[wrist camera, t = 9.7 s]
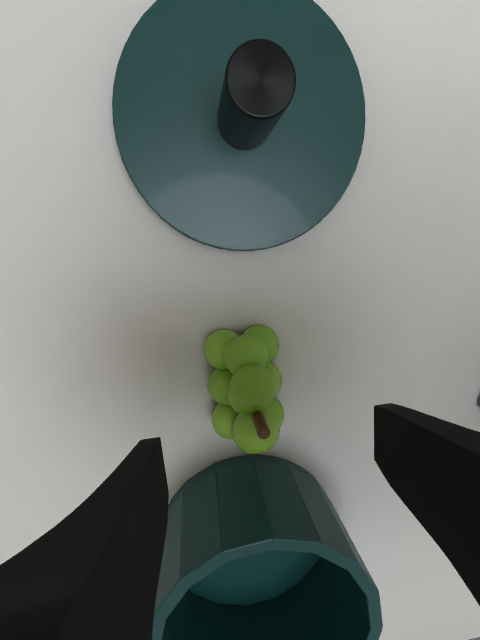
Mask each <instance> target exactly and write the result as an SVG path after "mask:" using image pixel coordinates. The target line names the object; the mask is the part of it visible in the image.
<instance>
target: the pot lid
mask: <svg viewBox="0 0 480 640" xmlns="http://www.w3.org/2000/svg"><path fill="white" fill-rule="evenodd" d="M112 108H113V124H114V130H115V136H116V141H117V145H118V148H119V151H120V155H121V158H122V161H123V163H124V165H125V167H126V170H127V172H128V174H129V176H130V178H131V180H132V182H133V183H134V185H135V187H136V188H137V190H138V192H139V193H140V194H141V196H142V197H143V198H144V200H145V201H146V202H147V204H148V205H149V206H150V207H151V208H152V209H153V210H154V211H155V212H156V213H157V214H158V215H159V216H160V217H161V218H162V219H163V220H164V221H166V222H167V223H168V224H169V225H171V226H172V227H173V228H174V229H176V230H177V231H179V232H181V233H182V234H184V235H186V236H187V237H189V238H191V239H194V240H196V241H198V242H200V243H203V244H206V245H209V246H212V247H216V248H220V249H227V250H233V251H253V250H261V249H267V248H271V247H275V246H279V245H281V244H284V243H286V242H289V241H291V240H294V239H295V238H297V237H299V236H301V235H302V234H304V233H306V232H307V231H309V230H310V229H311V228H313V227H314V226H315V225H317V224H318V223H319V222H320V221H321V220H322V219H323V218H324V217H325V216H326V215H327V214H328V213H329V212H330V211H331V210H332V209H333V208H334V206H335V205H336V204H337V203H338V201H339V200H340V199H341V197H342V195H343V194H344V192H345V190H346V189H347V187H348V186H349V183H350V181H351V179H352V177H353V175H354V172H355V170H356V167H357V164H358V161H359V158H360V154H361V149H362V144H363V139H364V130H365V101H364V94H363V87H362V82H361V79H360V75H359V71H358V67H357V65H356V62H355V60H354V57H353V55H352V52H351V50H350V48H349V46H348V44H347V42H346V41H345V39H344V37H343V35H342V34H341V32H340V31H339V29H338V28H337V26H336V25H335V24H334V22H333V21H332V19H331V18H330V17H329V16H328V15H327V14H326V13H325V12H324V11H323V10H322V9H321V7H320V6H319V5H317V4H316V3H315V2H314V1H313V0H157V1H156V2H155V3H154V4H153V5H152V6H151V7H150V8H149V9H148V10H147V11H146V12H145V13H144V14H143V16H142V17H141V19H140V20H139V22H138V23H137V24H136V26H135V27H134V29H133V30H132V32H131V34H130V36H129V38H128V40H127V42H126V44H125V46H124V48H123V51H122V54H121V57H120V60H119V63H118V65H117V70H116V75H115V80H114V87H113V100H112Z"/></svg>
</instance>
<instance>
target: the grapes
mask: <svg viewBox="0 0 480 640" xmlns="http://www.w3.org/2000/svg"><path fill="white" fill-rule="evenodd" d="M278 351H279V340H278V337H277V335H276V333H275V332H274V331H273V330H272V329H270V328H269V327H267V326H263V325H256V326H252V327H250V328H248V329H247V330H246V331H245V332H244V333H243V334H242V335H240V336H238V335H237V334H236V333H235V332H233V331H231V330H227V329H221V330H217V331H215V332H213V333H212V334H210V335H209V337H208V338H207V339H206V341H205V344H204V355H205V358H206V360H207V361H208V362H209V364H210V365H212V366H213V367H215V368H217V369H215V370H214V371H213V372H212V374H211V375H210V377H209V381H208V390H209V393H210V395H211V397H212V398H213V399H214V400H215V401H216V402H218V403H219V404H218V405H217V406H216V408H215V409H214V412H213V415H212V424H213V427H214V429H215V431H216V432H217V433H218V434H219V435H220V436H222V437H224V438H226V439H234V442H235V443H236V445H237V446H238V447H239V448H240V449H241V450H242V451H244V452H246V453H251V454H256V453H263V452H266V451H268V450H269V449H271V448H272V447H273V446H274V445H275V443H276V442H277V440H278V437H279V432H280V426H281V424H282V422H283V419H284V410H283V407H282V405H281V403H280V402H279V401H278V400H277V399H276V398H275V396H276V394H277V393H278V392H279V390H280V388H281V384H282V378H281V374H280V371H279V370H278V368H277V367H276V366H275V365H274V364H272V363H270V362H271V361H272V360H273V359H274V358H275V357H276V355H277V353H278Z"/></svg>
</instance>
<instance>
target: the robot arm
mask: <svg viewBox="0 0 480 640" xmlns="http://www.w3.org/2000/svg"><path fill="white" fill-rule="evenodd" d="M374 460H375V461H376V463H377V465H378V466H379V468H380V470H381V472H382V473H383V475H384V477H385V478H386V480H387V481H388V483H389V484H390V486H391V487H392V489H393V490H394V491H395V492H396V494H397V495H398V496H399V497H400V499H401V500H402V501H403V502H404V504H405V505H406V506H407V507H408V509H409V510H410V511H411V512H412V514H413V515H414V516H415V517H416V518H417V520H418V521H419V522H420V523H421V525H422V526H423V527H424V528H425V530H426V531H427V532H428V533H429V535H430V536H431V537H432V538H433V539H434V541H435V542H436V543H437V544H438V546H439V547H440V548H441V550H442V551H443V552H444V554H445V555H446V556H447V558H448V559H449V560H450V562H451V563H452V565H453V566H454V568H455V569H456V571H457V572H458V574H459V575H460V577H461V578H462V580H463V581H464V583H465V584H466V586H467V587H468V589H469V590H470V592H471V593H472V595H473V596H474V598H475V599H476V601H477V602H478V604H479V606H480V432H478V431H474V430H471V429H468V428H465V427H462V426H459V425H456V424H453V423H450V422H447V421H444V420H441V419H438V418H436V417H433V416H430V415H427V414H424V413H421V412H419V411H416V410H413V409H410V408H407V407H404V406H400V405H396V404H392V403H389V404H383V405H376V406H374ZM168 497H169V492H168V486H167V479H166V472H165V466H164V459H163V453H162V446H161V439H160V437H157V438H150V439H144V440H140V441H139V442H138V444H137V445H136V446H135V447H134V448H133V449H132V451H131V452H130V453H129V454H128V455H127V456H126V458H125V459H124V460H123V461H122V462H121V463H120V465H119V466H118V467H117V468H116V469H115V470H114V471H113V473H112V474H111V475H110V476H109V477H108V478H107V479H106V480H105V481H104V482H103V483H102V484H101V485H100V486H99V487H98V488H97V489H96V490H95V491H94V492H93V493H92V494H91V495H90V496H89V497H88V498H87V499H86V500H85V501H84V502H83V503H82V504H81V505H80V506H78V507H77V508H76V509H75V510H74V511H73V512H72V513H70V514H69V515H68V516H67V517H66V518H64V519H63V520H62V521H61V522H60V523H58V524H57V525H56V526H55V527H53V528H52V529H51V530H49V531H48V532H47V533H45V534H44V535H43V536H41V537H40V538H39V539H37V540H36V541H34V542H33V543H32V544H30V545H29V546H28V547H26V548H25V549H24V550H22V551H21V552H19V553H18V554H16V555H15V556H13V557H12V558H10V559H9V560H7V561H6V562H4V563H3V564H1V565H0V640H152V634H153V619H154V611H155V602H156V595H157V589H158V583H159V576H160V570H161V564H162V557H163V551H164V544H165V538H166V531H167V524H168ZM469 640H480V637H478V638H474V639H469Z"/></svg>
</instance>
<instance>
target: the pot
mask: <svg viewBox="0 0 480 640" xmlns="http://www.w3.org/2000/svg"><path fill="white" fill-rule="evenodd" d="M382 627H383V624H382V615H381V606H380V597H379V591H378V588H377V587H376V585H375V583H374V581H373V579H372V577H371V575H370V574H369V572H368V570H367V568H366V566H365V564H364V562H363V560H362V559H361V557H360V555H359V553H358V551H357V549H356V547H355V546H354V544H353V542H352V540H351V538H350V536H349V534H348V532H347V531H346V529H345V527H344V525H343V523H342V521H341V519H340V518H339V516H338V514H337V512H336V510H335V508H334V506H333V505H332V503H331V501H330V500H329V498H328V497H327V496H326V494H325V492H324V491H323V489H322V487H321V486H320V484H319V483H318V482H317V481H316V480H315V478H314V477H312V476H311V475H310V474H309V473H308V472H307V471H305V470H304V469H302V468H301V467H299V466H297V465H295V464H293V463H291V462H289V461H286V460H283V459H280V458H276V457H270V456H260V455H252V456H241V457H236V458H231V459H228V460H224V461H221V462H219V463H216V464H214V465H212V466H209V467H208V468H206V469H204V470H203V471H201V472H199V473H198V474H196V475H195V476H194V477H192V478H191V479H190V480H189V481H188V482H187V483H186V484H185V485H184V486H182V487H181V489H180V490H179V491H178V492H177V494H176V495H175V496H174V497H173V499H172V501H171V502H170V504H169V505H168V524H167V531H166V538H165V544H164V551H163V557H162V564H161V570H160V576H159V583H158V589H157V595H156V602H155V611H154V619H153V634H152V640H379V637H380V634H381V631H382Z"/></svg>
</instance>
